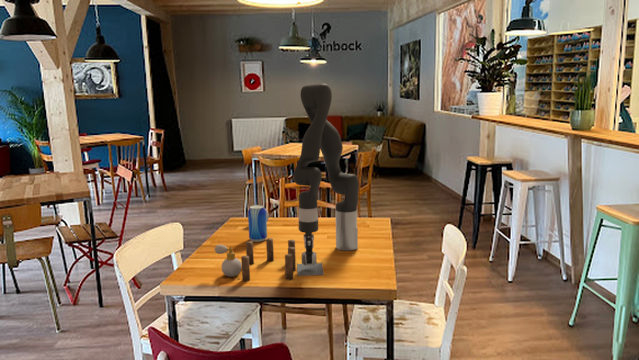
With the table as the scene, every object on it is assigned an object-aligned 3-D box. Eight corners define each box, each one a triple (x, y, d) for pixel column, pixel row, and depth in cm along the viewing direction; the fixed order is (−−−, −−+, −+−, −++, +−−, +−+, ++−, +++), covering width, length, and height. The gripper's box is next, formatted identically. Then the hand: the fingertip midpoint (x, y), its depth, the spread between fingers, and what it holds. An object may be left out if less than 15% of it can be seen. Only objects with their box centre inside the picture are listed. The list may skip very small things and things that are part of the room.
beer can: (264, 242, 217) (262, 209, 214) (246, 242, 219) (245, 208, 216) (269, 237, 225) (268, 204, 222) (252, 236, 227) (251, 204, 224)
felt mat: (321, 263, 190) (321, 263, 190) (323, 274, 178) (323, 274, 178) (297, 264, 189) (297, 263, 189) (297, 275, 178) (297, 275, 178)
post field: (295, 257, 197) (294, 237, 195) (295, 279, 174) (295, 256, 173) (247, 259, 196) (246, 239, 194) (242, 281, 173) (240, 258, 172)
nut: (316, 260, 186) (316, 250, 185) (316, 265, 181) (316, 255, 180) (301, 261, 186) (301, 251, 185) (301, 265, 181) (301, 255, 180)
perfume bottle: (242, 278, 177) (240, 247, 174) (215, 280, 175) (213, 249, 173) (241, 270, 184) (240, 241, 181) (216, 273, 182) (214, 243, 180)
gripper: (319, 223, 173) (319, 267, 176) (317, 213, 187) (317, 254, 190) (298, 224, 173) (299, 268, 176) (298, 214, 187) (299, 255, 190)
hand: (309, 260), depth 183 cm, fingers closed on nut, 5 cm apart
